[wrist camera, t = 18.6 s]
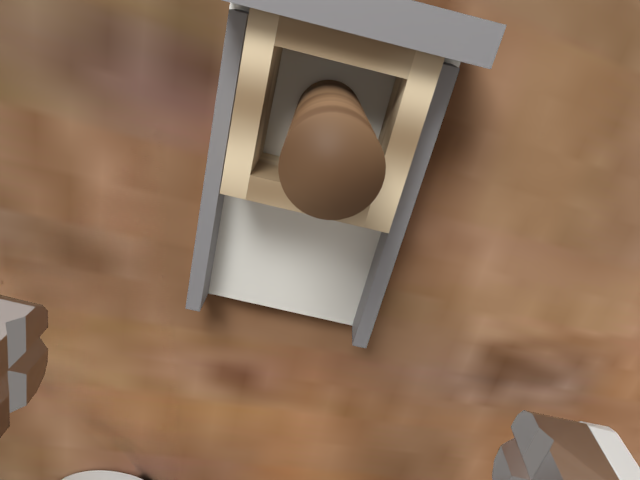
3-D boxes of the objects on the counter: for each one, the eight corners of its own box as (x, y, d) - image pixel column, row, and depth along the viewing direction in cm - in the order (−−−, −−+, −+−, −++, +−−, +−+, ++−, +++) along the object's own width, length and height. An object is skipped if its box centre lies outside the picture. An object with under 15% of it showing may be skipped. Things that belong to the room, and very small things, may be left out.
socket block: (382, 203, 34) (388, 233, 30) (236, 168, 34) (219, 193, 29) (430, 49, 30) (445, 56, 26) (264, 6, 30) (249, 6, 25)
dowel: (352, 150, 33) (371, 229, 20) (291, 137, 33) (269, 208, 20) (367, 87, 31) (398, 128, 18) (303, 73, 31) (289, 104, 18)
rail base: (370, 318, 40) (376, 388, 33) (193, 279, 39) (159, 340, 32) (468, 21, 31) (506, 25, 24) (241, -39, 30) (208, -54, 23)
